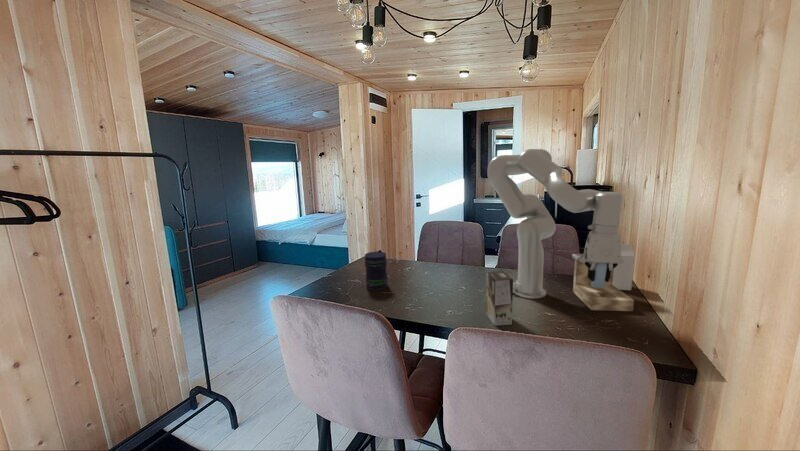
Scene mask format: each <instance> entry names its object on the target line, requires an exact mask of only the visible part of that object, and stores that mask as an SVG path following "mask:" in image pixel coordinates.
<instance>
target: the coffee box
mask: <svg viewBox="0 0 800 451" xmlns="http://www.w3.org/2000/svg"><path fill="white" fill-rule="evenodd" d="M513 283H514V279H513V278H512V277H511V276H510V275H508V273H506V272H504V271H502V270H501V271H500V270H499V271H497V270H496V271H488V272H487V271H486V295H485V296H486V302H485V304H486V306H485V307H486V310H485V311H486V312H485V313H486V316H487V318H488V319H489V320H490V321H491V323H492V324H493V326H497V327H498V326H508V325H509V326H510V325H512V324H513V301H514V300H513V298H514V297H513V296H514V289H513Z"/></svg>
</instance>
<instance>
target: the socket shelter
mask: <svg viewBox="0 0 800 451" xmlns="http://www.w3.org/2000/svg"><path fill="white" fill-rule="evenodd" d="M582 254H583V253H572V254H571V258H572V259H573V260H574V266H573V267H574V268H573V269H574V271H573V284H572V285H573V287H572V292H573V293H574V294H575V296H577V297H578V298H579V299H580V300H581V301H582V303H583V304H585V305H586V307H587V308H589V309H590V310H591V311H607V312H609V311H612V312H613V311H614V312H615V311H616V312H634V307H635V306H634V305H635V300H634V299H633V298H631V297H630V296H628V295H627V294H625V292H623V290H619V289H618V288H616V287H615V286H614V285H612V284H613V272H614V269H613V271H611V275H610V279H609V282H606V281H605V285H604V288H595V287H592V286H591V280H590V279H589V278H588V276H587V275H588V267H587V266H586V265H585V264H584V263H582V262H581V261H579V258H580V257H581V255H582ZM585 260H586V261H587V262H588V261H589V260H588V259H585Z"/></svg>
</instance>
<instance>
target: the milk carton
mask: <svg viewBox="0 0 800 451" xmlns="http://www.w3.org/2000/svg"><path fill="white" fill-rule="evenodd" d="M621 258H622V260H623V261H624V262H623V263H622V264H620V265H617V266H616V267H615V268H614V272H613V284H612V285H614V286H615V287H616V288H618V289H619V290H620V291H632V285H633V284H632V283H633V276H634V275H633V274H634V264H635V253H634V250H633V247H632V244H631V243H621Z"/></svg>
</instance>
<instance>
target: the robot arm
mask: <svg viewBox="0 0 800 451" xmlns="http://www.w3.org/2000/svg"><path fill="white" fill-rule="evenodd" d="M524 174H529V175H530V176H532V177H533V179H535V180H537V181H538V183H540V184H542V186H544V188H545V191H546V192H547V194H548V195H549V197H550V198H551V199H552V200H553V201H554V202H555V203H557V204H558V205H559V206H561V207H562V208H563V209H564V210H566V211H568V212H571V213H573V214H576V213H577V214H578V213H583V212H589V211H594V212H593V218H592V222H591V224H589V225H587V229H588V230H590V231H589V233H588V235H587V239H586V241H585V245H584V251H583V253H581V254H582V255H581V257H580V258H579V261H581V262H582V263H584V264H585V265H586V266H587V267H588V275H587V276H588V278H589V279H590V280H591V281H594V278H595V270H594V267H595V264H596V263H607V270H606V277H605V281H606V282H609V279H610V275H611V271H613V269H614V268H615V267H616V266H617V265H620V264H622V263H623V262H624V261H623V260H622V258H621V244H622V237H621V236H622V235H621V233H619V227H620V220H621V211H622V206H623V199H624V197H623V194H621V193H619V192H616V191H602V190H601V191H599V190H596V189H592V188H591V189H589V188H587V189H580V190H579V189H576V188H574V187H573V186H572V185H570V184H569V182H566V180H565V179H564V178H563V176H562V174H563V168H562V167H561V166H559V165H558V164H557V163H555V162H554V161H552V155H551V153H550V152H549V151H548V150H546V149H543V148H529V149H525V150H523V151H522V152H521V153H520V154H503V155H502V154H501V155H497V156H495V157H494V158H492V159H491V161H490V162H489V164H488V166H487V177H488V178H487V179H488V182H489V184H490V185H491V187H492V188H493V189H494V191H495V192H496V195H498V197H499V199H500V200H501V202H502V204H503V206H504V208H505V209H506V210H507V212H508V214H509V215H510V217H512V218H513V219H517V220H518V219H523V220H521V221H520V222H519V224H518V225H517V227H516V238H517V241H518V243H517V244H518V258H517V259H518V260H517V261H518V264H517V279H516V280H515V281H513V294H514V295H516V296H519V297H521V298H524V299H530V300H531V299H532V300H533V299H535V300H537V299H543V298H545V297H546V296H547V291H546V289H544V288H543V278H544V276H543V275H544V260H545V259H544V258H545V257H544V246H543V243H542V240H545V239H548V238H550V237H552V236H553V235H554V234H555V232H556V230H557V228H556V227H557V226H556V222H555V220H554V218H553V217H552V215H551V214H550V212H549V210H548V209H547V207H546V206H545V204H544V202H543V201H542V200H541V198H539V197H538V196H536V195H535V194H531V193H530V194H524V193H523V192H522V191H521V190H520V188H519V186H518V184H517V183H516V182H515V180H513V179H511V177H509V176H518V175H524ZM585 259H588V260H589V261H588V262H587V261H586V260H585Z"/></svg>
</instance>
